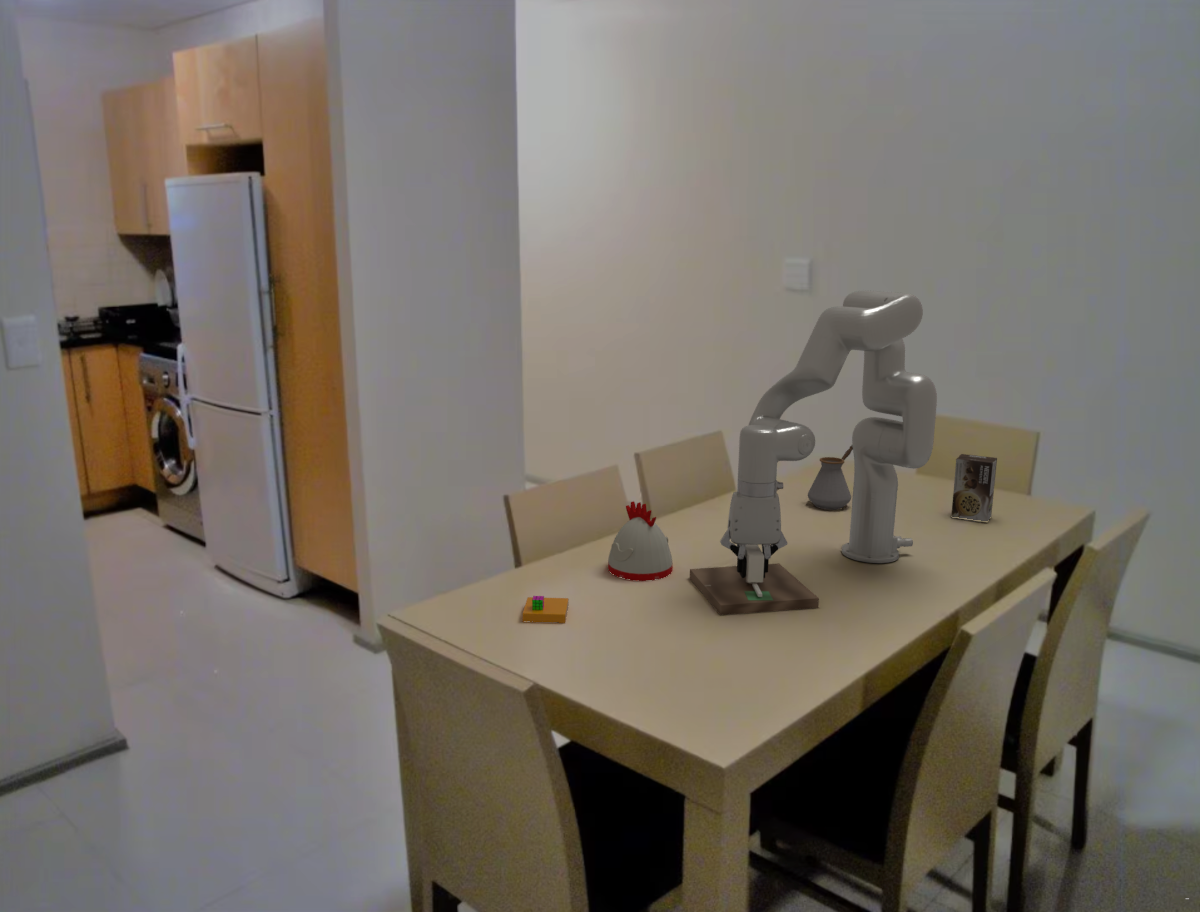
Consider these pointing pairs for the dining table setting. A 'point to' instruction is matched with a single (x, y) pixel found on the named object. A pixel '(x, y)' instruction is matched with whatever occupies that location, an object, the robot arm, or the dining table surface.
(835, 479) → the coffee pot
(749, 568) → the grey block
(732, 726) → the dining table surface
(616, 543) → the chicken figurine
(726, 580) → the dial board
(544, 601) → the orange block with cube
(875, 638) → the dining table surface
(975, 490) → the coffee box
